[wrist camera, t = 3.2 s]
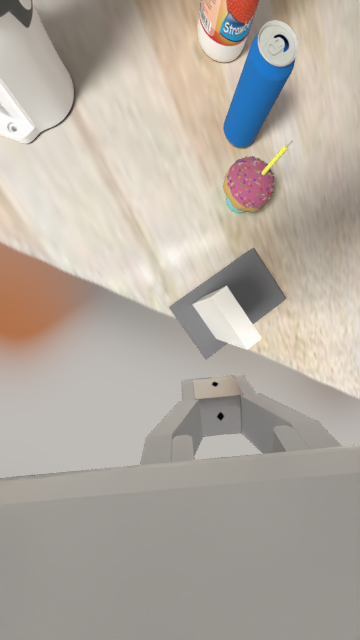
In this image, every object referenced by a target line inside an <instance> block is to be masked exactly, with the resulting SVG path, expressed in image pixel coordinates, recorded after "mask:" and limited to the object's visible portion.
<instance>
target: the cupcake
mask: <svg viewBox="0 0 360 640" xmlns="http://www.w3.org/2000/svg"><path fill="white" fill-rule="evenodd" d="M292 142H293V141H291V142H290V143H289V144H288V145H284V146H283V148H282V149H281V150H280V151H279V152H278V153H277V155H276V156H275V157H274V158H273V159H272V160H271V162H270V163H269V164H266V162H264V161H262V160H260V159H259V158H255V157H253V156H252V157H251V156H250V157H247V156H246V157H245V158H242V159H239V160H237V162H235V163H234V164H233V165H232V166H231V168H230V169H229V171H228V172H227V174H226V176H225V180H224V185H223V187H224V192H225V194H226V196H227V198H226V201H227V205H228V207H229V208H230V209H231V210H232V211H233V212H236V213H242V212H245V211H247V212H255V211H257V210H258V209H260V208H261V207H262V206H263V205H264V204H265V203H266V202H267V201H268V200H269V199H270V198H271V196H272V193H273V190H274V186H275V185H274V184H275V182H274V176H275V175H274V174H273V173H272V171H271V167H272V166H273V165H274V164H275V163H276V162H277V160H278V159H279V158H280V157H281V156H282V155H283V154H284V153H285V152H286V150H287V149H288V146H289V145H290V144H291V143H292Z"/></svg>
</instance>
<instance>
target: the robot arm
mask: <svg viewBox="0 0 360 640" xmlns="http://www.w3.org/2000/svg"><path fill="white" fill-rule="evenodd" d="M73 99H74V87H73V82H72V79H71V76H70V74H69V72H68V70H67V69H66V67H65V65H64V64H63V62H62V60H61V59H60V57H59V55H58V53H57V52H56V50H55V48H54V46H53V44H52V42H51V40H50V38H49V36H48V34H47V32H46V30H45V28H44V26H43V24H42V22H41V20H40V17H39V15H38V13H37V11H36V9H35V7H34V4H33V2H32V0H0V135H2V136H4V137H7V138H10V139H13V140H15V141H18V142H21V143H25V144H27V143H30V142H31V141H33V140H34V139H35V138H36V137H37V136H38V134H39V133H40V132H42V131H44V130H46V129H48V128H51V127H53V126H55V125H57V124H58V123H59V122H61V121H62V120H63V119H64V118H65V117H66V116H67V114H68V113H69V111H70V109H71V106H72V103H73ZM192 380H193V382H192ZM238 433H242V435H244V436H245V437H246V438H247V439H248V440H249V441H250V442H251V443H252V444H253V445H254V446H255V447H256V448H257V449H259V450H260V451H261V452H262V453H263V454H256V455H245V456H233V457H222V458H213V459H201V460H195V458H194V456H195V453H196V451H197V449H198V447H199V445H200V442H201V440H202V437H205V436H213V435H221V434H238ZM0 640H360V445H352V446H342V445H341V444H340V443H339V442H338V441H337V440H336V439H335V438H334V437H333V436H332V435H331V434H330V433H329V432H328V431H327V430H326V429H325V428H324V427H323V426H322V425H321V424H320V423H319V421H317V420H314V419H312V418H310V417H308V416H306V415H304V414H302V413H300V412H298V411H296V410H294V409H292V408H290V407H288V406H285V405H283V404H281V403H279V402H277V401H275V400H273V399H271V398H269V397H267V396H265V395H263V394H260V393H258V394H257V393H256V391H255V390H254V388H253V387H252V386H251V384H250V383H249V381H248V380H247V378H246V377H245V375H244V374H237V375H230V376H222V377H214V378H200V379H188V380H182V401H179V402H178V403H177V404H176V405H175V406H174V407H173V409H172V410H171V411H170V412H169V413H168V414H167V415H166V416H165V417H164V418H163V419H162V421H161V422H160V423H159V424H158V425H157V426H156V427H155V428H154V429H153V430H152V431H151V433H150V434H149V435H148V436H147V437H146V440H145V444H144V449H143V454H142V459H141V463H140V465H135V466H126V467H115V468H103V469H92V470H81V471H70V472H59V473H49V474H39V475H38V474H37V475H26V476H16V477H5V478H0Z"/></svg>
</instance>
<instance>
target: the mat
mask: <svg viewBox="0 0 360 640" xmlns="http://www.w3.org/2000/svg"><path fill="white" fill-rule="evenodd" d="M225 286H227V287H228V288H229V290H230V291H231V293H232V294H233V296H234V297H235V299H236V300H237V302H238V303H239V305H240V306H241V308H242V309H243V311H244V312H245V314H246V315H247V317H248V318H249V320H250V321H251V323H252V324H254V323H255V322H256V321H258V320H259V319H260V318H262V317H263V316H264V315H266V314H267V313H268V312H270V311H271V310H272V309H274V308H275V307H276V306H278V305H279V304H280V303H282V302H283V301H284V300H285V299H286V298H285V297H284V295H283V293H282V292H281V290H280V289H279V287H278V286H277V284H276V283H275V281H274V279H273V278H272V276H271V275H270V273H269V272H268V270H267V269H266V267H265V265H264V264H263V262H262V261H261V259H260V258H259V256H258V255H257V253H256V251H255V250H254V248H253V249H251V250H250V251H248V252H247V253H245V254H244V255H243V256H241V257H240V258H238V259H237V260H236V261H234V262H233V263H231V264H230V265H228V266H227V267H226V268H224V269H223V270H221V271H220V272H218V273H217V274H216V275H214V276H213V277H211V278H210V279H209V280H207V281H206V282H204V283H203V284H201V285H200V286H199V287H197V288H196V289H194V290H193V291H192V292H190V293H189V294H187V295H186V296H184V297H183V298H182V299H180V300H179V301H177V302H176V303H175V304H173V305H172V306H170V307H169V308H170V310H171V311H172V313H173V314H174V315H175V317H176V318H177V320H178V321H179V322H180V324H181V325H182V327H183V328H184V330H185V331H186V332H187V334H188V335H189V337H190V338H191V339H192V341H193V342H194V343H195V345H196V346H197V348H198V349H199V351H200V352H201V353H202V355H203V356H204V358H205V359H207V358H209V357H210V356H212V354H214V353H216V352H217V351H218V350H219V349H221V348H222V347H223V346H225V345H226V344H227V343H226V342H223V341H221V340H218V339H216V338H215V336H214V335H213V334H212V332H211V331H210V329H209V328H208V326H207V325H206V323H205V322H204V321H203V319H202V318H201V316H200V315H199V313H198V312H197V311H196V309H195V308H194V306H193V305H192V304H193V303H195V302H196V301H198V300H199V299H200V298H202V297H204V296H206V295H208V294H210V293H212V292H214V291H216V290H219V289H221V288H223V287H225Z"/></svg>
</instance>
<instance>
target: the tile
mask: <svg viewBox="0 0 360 640" xmlns="http://www.w3.org/2000/svg"><path fill="white" fill-rule="evenodd" d="M192 305H193V306H194V308H195V309H196V311H197V312H198V313H199V315H200V316H201V318H202V319H203V321H204V322H205V323H206V325H207V326H208V328H209V329H210V331H211V332H212V334H213V335H214V336H215V338H216V339H218V340H221V341H223V342H226V343H229V344H232V345H235V346H238V347H241V348H244V349H249V348H250V347H251V346H253V345H254V344H255V343H257V342H258V341H259V340H260V339H262V338H261V336H260V335H259V333H258V332H257V330H256V329H255V327H254V326H253V324H252V323H251V321H250V320H249V318H248V317H247V315H246V314H245V312H244V311H243V309H242V308H241V306H240V305H239V303H238V302H237V300H236V299H235V297H234V296H233V294H232V293H231V291H230V290H229V288H228V287H227V286H225V287H223V288H221V289H219V290H216V291H214V292H212V293H210V294H208V295H206V296H204V297H202V298H200V299H199V300H198V301H196V302H195V303H193V304H192Z"/></svg>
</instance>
